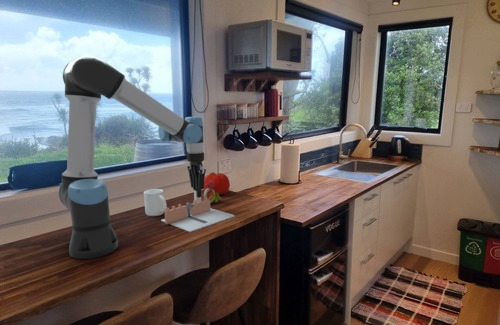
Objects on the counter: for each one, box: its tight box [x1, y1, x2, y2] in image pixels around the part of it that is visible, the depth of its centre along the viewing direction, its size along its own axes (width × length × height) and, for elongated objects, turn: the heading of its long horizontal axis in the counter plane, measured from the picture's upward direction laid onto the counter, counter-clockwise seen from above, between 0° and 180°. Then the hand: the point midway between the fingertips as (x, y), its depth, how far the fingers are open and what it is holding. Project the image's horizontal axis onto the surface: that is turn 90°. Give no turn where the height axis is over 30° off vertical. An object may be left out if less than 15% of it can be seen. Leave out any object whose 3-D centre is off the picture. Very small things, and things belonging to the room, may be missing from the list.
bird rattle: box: [203, 181, 222, 204], centre depth 169 cm, size 6×11×9 cm
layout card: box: [160, 207, 236, 233], centre depth 147 cm, size 25×20×1 cm
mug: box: [143, 188, 167, 217], centre depth 154 cm, size 12×8×10 cm
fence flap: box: [190, 196, 211, 216], centre depth 153 cm, size 10×2×6 cm, turn 136°
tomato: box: [203, 172, 231, 196], centre depth 185 cm, size 13×14×12 cm
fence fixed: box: [164, 201, 191, 225], centre depth 144 cm, size 12×1×7 cm, turn 136°
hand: (198, 203), depth 157 cm, fingers closed
